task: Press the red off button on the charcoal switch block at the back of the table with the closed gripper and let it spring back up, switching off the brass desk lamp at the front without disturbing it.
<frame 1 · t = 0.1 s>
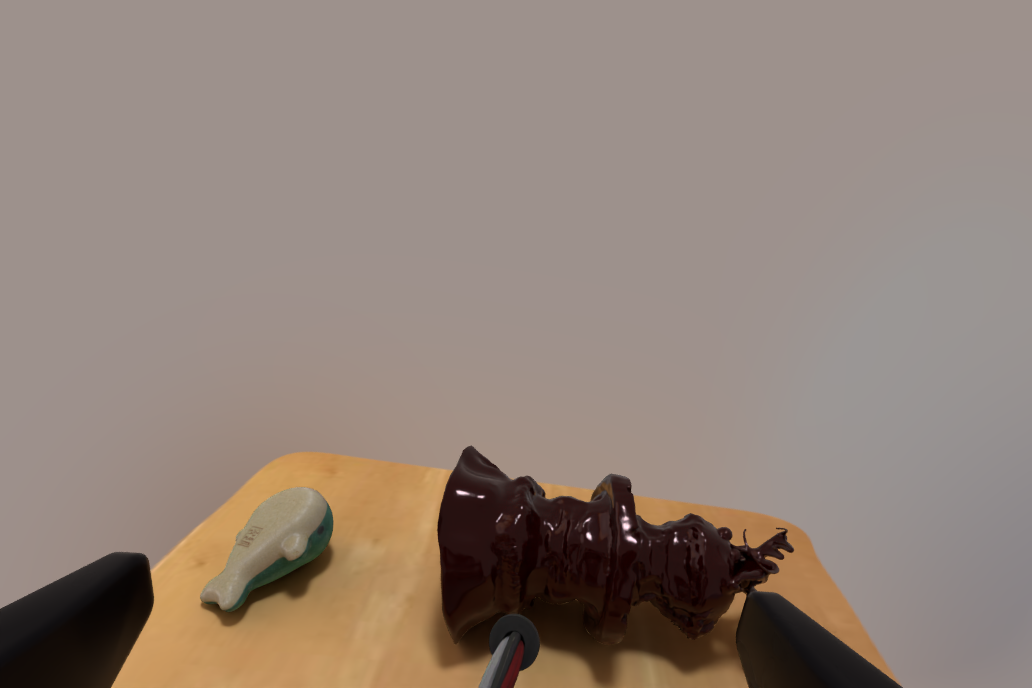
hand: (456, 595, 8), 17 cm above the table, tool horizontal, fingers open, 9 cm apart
figurine: (599, 619, 29), on the table
whale figurine: (253, 527, 28), point 3 cm above the table
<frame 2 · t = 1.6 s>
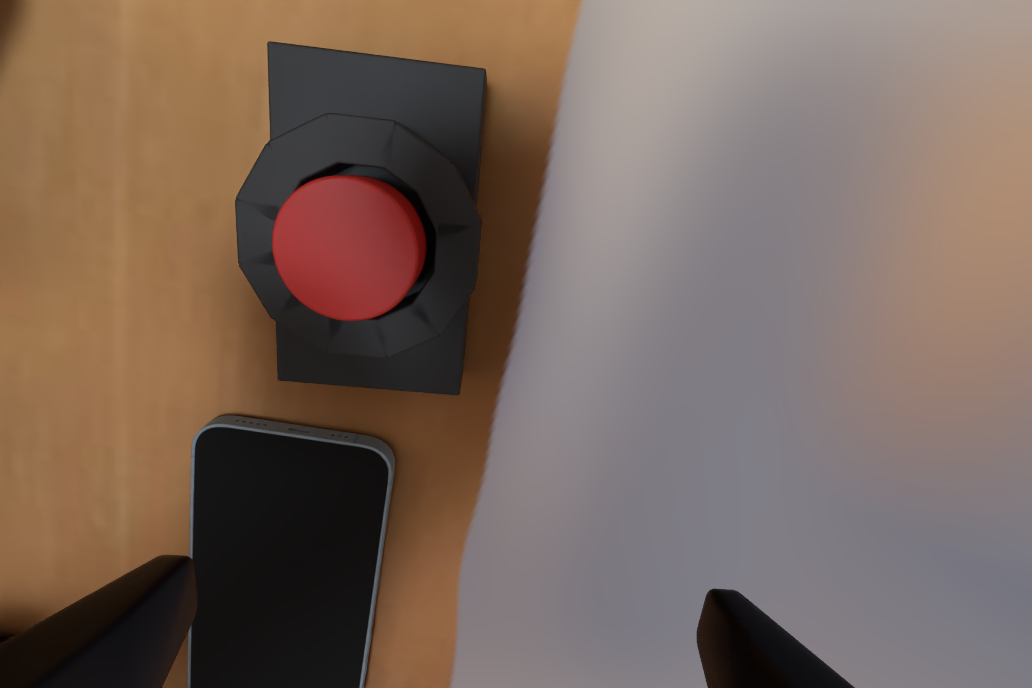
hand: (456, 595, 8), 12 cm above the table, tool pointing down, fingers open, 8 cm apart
off button: (354, 247, 14), point 4 cm above the table, slide at 0.1 cm
smartphone: (292, 579, 22), on the table
switch block: (387, 230, 18), on the table
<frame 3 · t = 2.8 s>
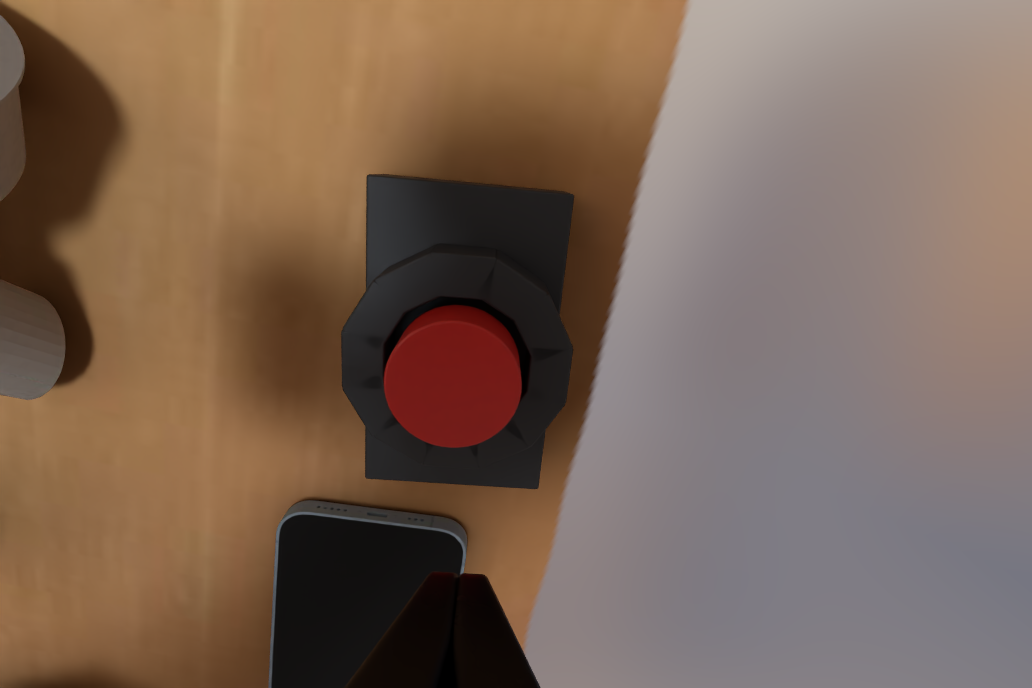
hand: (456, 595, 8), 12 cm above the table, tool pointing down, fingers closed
off button: (455, 375, 14), point 4 cm above the table, slide at 0.1 cm
smartphone: (364, 648, 23), on the table
switch block: (465, 328, 19), on the table
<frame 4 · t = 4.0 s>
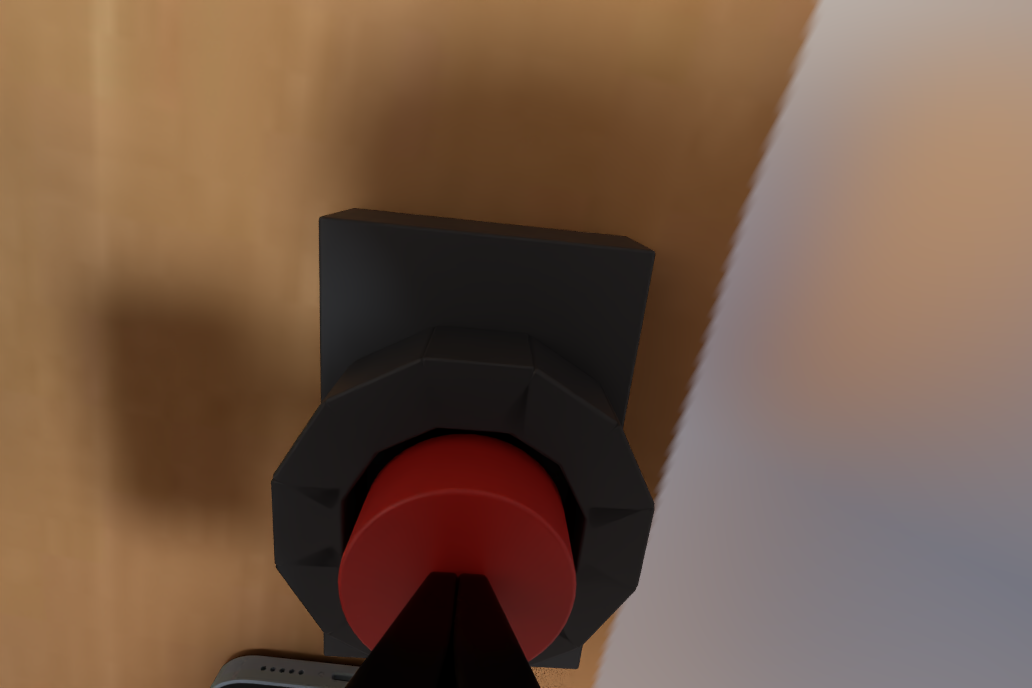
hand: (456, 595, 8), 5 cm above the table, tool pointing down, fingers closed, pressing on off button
off button: (461, 553, 9), point 4 cm above the table, slide at 0.0 cm, touching gripper
switch block: (473, 429, 13), on the table
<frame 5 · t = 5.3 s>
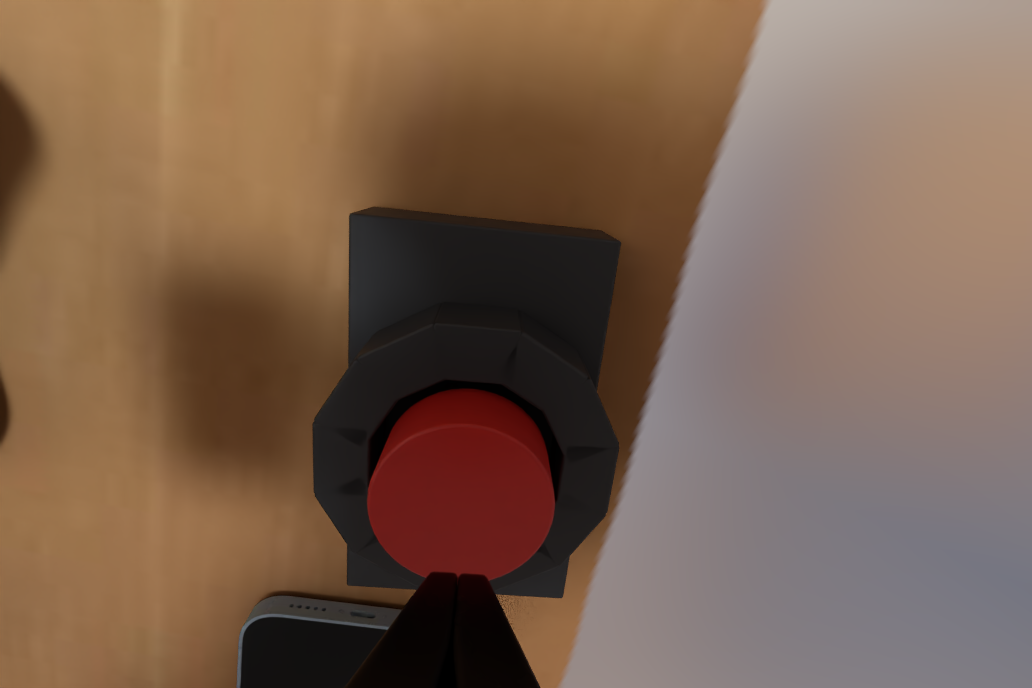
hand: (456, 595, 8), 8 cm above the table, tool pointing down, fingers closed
off button: (464, 483, 11), point 4 cm above the table, slide at 0.1 cm
switch block: (473, 395, 15), on the table
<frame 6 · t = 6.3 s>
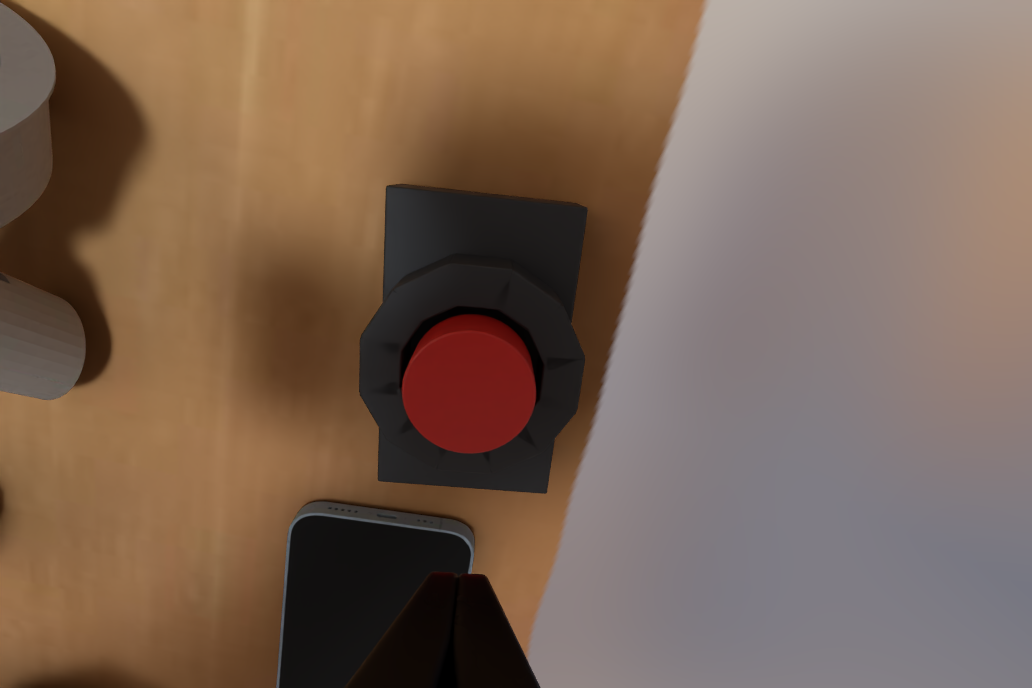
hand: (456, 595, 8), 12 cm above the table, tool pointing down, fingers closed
off button: (470, 382, 15), point 4 cm above the table, slide at 0.1 cm
smartphone: (371, 647, 24), on the table
switch block: (477, 335, 19), on the table
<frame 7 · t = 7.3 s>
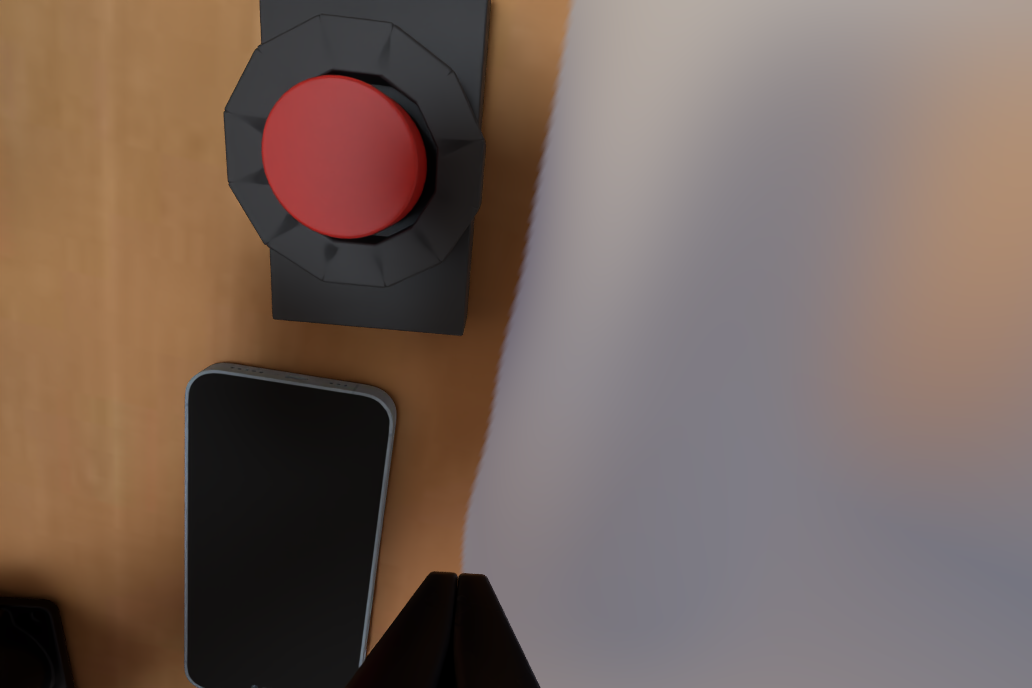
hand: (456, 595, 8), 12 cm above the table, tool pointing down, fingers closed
off button: (349, 161, 13), point 4 cm above the table, slide at 0.1 cm
smartphone: (291, 538, 22), on the table
switch block: (386, 163, 17), on the table
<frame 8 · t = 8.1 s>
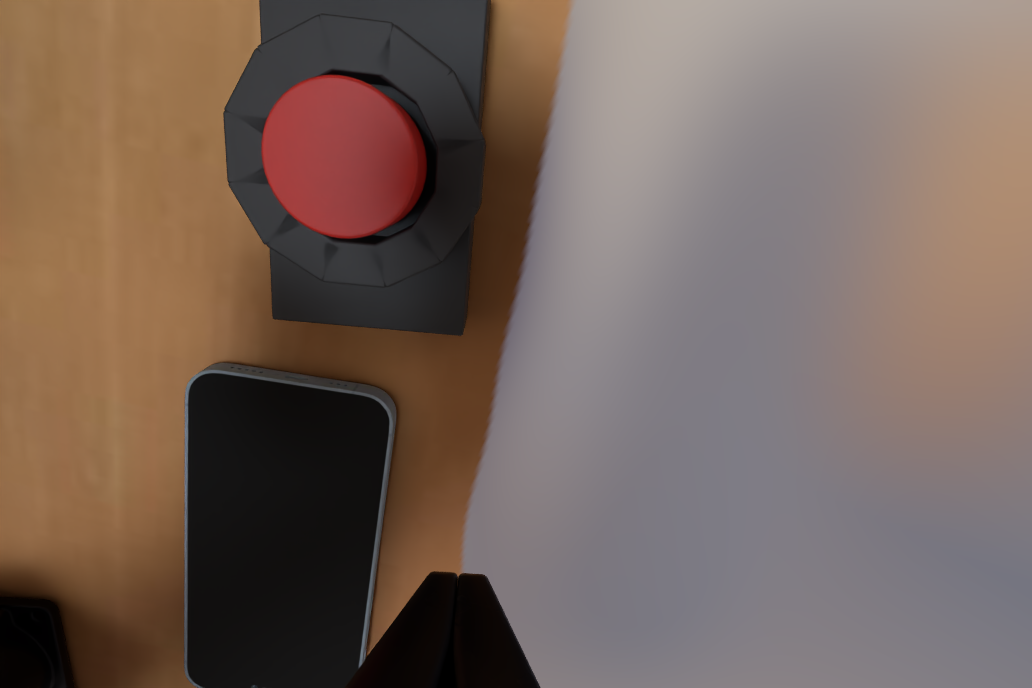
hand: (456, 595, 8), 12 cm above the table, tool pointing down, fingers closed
off button: (349, 161, 13), point 4 cm above the table, slide at 0.1 cm
smartphone: (291, 538, 22), on the table
switch block: (386, 163, 17), on the table
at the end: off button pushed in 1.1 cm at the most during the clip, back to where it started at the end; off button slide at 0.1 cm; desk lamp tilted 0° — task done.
